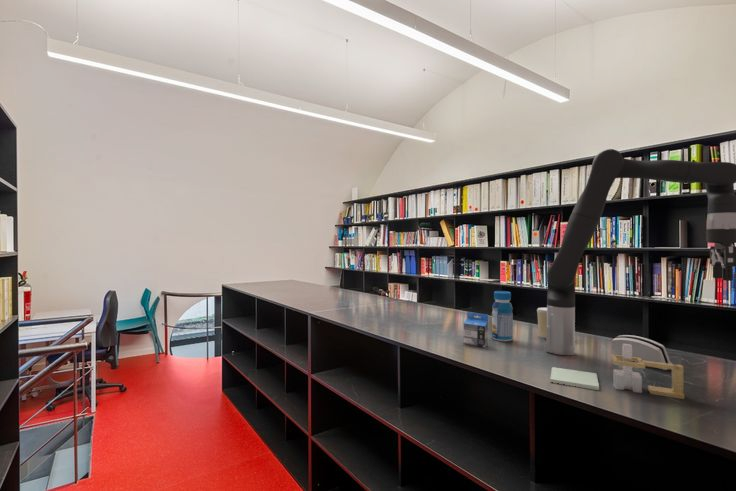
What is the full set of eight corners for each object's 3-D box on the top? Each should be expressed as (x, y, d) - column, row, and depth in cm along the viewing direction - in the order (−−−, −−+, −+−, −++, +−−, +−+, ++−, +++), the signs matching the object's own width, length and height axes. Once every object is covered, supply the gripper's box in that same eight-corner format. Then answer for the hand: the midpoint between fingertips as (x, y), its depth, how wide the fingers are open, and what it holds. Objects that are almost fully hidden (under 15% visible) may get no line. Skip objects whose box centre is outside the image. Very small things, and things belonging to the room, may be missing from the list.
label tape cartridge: (462, 343, 149) (463, 313, 149) (466, 341, 152) (466, 311, 152) (484, 347, 143) (485, 315, 143) (488, 345, 146) (488, 314, 146)
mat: (550, 382, 107) (550, 378, 107) (551, 370, 118) (551, 367, 118) (599, 390, 101) (599, 386, 101) (596, 376, 112) (596, 373, 112)
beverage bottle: (506, 343, 150) (507, 293, 150) (487, 339, 156) (488, 291, 156) (516, 339, 156) (516, 292, 156) (497, 335, 162) (498, 290, 162)
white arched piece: (674, 368, 120) (669, 340, 119) (667, 375, 118) (661, 346, 117) (621, 354, 136) (615, 329, 134) (613, 360, 134) (607, 335, 132)
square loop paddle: (613, 389, 102) (613, 360, 102) (610, 381, 108) (611, 354, 108) (685, 401, 94) (686, 370, 94) (678, 391, 101) (678, 362, 101)
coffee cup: (565, 338, 158) (565, 310, 158) (547, 340, 155) (548, 311, 155) (549, 333, 167) (549, 306, 167) (532, 334, 164) (532, 307, 164)
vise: (615, 388, 102) (615, 345, 102) (611, 376, 112) (611, 336, 112) (641, 393, 100) (642, 348, 100) (635, 380, 109) (635, 339, 109)
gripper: (700, 229, 124) (699, 277, 124) (714, 227, 112) (714, 280, 112) (730, 228, 121) (729, 278, 121) (748, 226, 108) (748, 282, 108)
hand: (722, 279), depth 116 cm, fingers open, 8 cm apart
